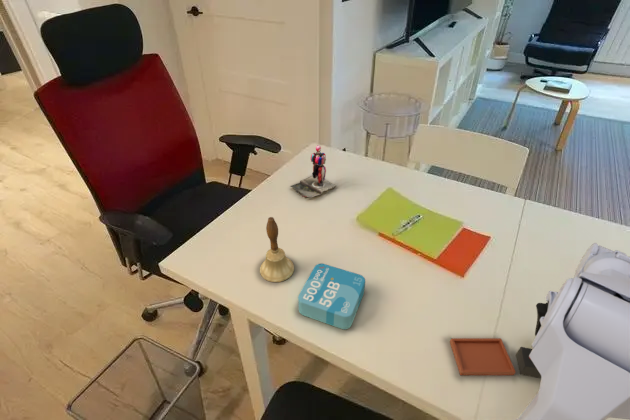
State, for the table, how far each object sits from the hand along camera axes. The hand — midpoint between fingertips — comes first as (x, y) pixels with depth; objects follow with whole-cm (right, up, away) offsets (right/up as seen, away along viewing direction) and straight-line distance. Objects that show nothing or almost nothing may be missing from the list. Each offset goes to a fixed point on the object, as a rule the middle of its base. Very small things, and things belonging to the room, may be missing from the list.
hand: (546, 355), depth 68 cm
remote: (0, -4, +3) cm, 5 cm away
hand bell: (-51, +12, +23) cm, 57 cm away
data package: (-33, +6, +12) cm, 35 cm away
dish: (-10, -2, +5) cm, 11 cm away
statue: (-43, +33, +49) cm, 73 cm away
